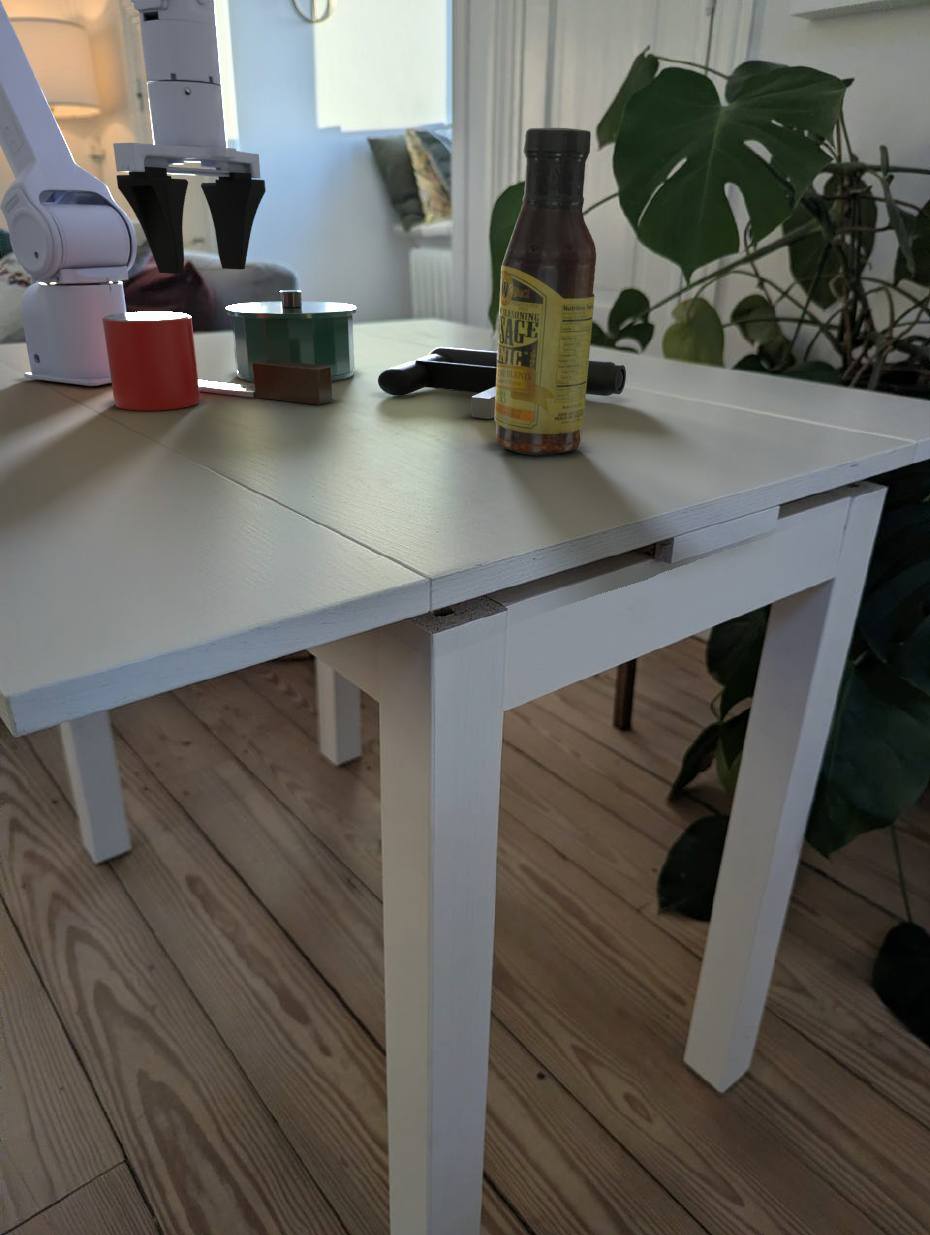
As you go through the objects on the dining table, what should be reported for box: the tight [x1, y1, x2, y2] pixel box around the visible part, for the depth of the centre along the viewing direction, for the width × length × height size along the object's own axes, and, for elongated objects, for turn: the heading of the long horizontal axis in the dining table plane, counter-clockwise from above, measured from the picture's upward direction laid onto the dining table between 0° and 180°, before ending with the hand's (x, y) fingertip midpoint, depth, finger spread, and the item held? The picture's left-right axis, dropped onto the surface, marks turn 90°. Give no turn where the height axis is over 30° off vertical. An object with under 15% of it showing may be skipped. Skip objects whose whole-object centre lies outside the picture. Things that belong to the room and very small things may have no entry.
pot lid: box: [225, 289, 357, 319], centre depth 89 cm, size 13×13×3 cm
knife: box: [198, 360, 334, 406], centre depth 81 cm, size 16×2×3 cm, turn 63°
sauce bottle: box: [494, 127, 597, 456], centre depth 60 cm, size 6×6×20 cm
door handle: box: [377, 346, 627, 420], centre depth 80 cm, size 3×20×16 cm
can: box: [102, 311, 201, 412], centre depth 76 cm, size 7×7×7 cm
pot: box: [230, 314, 355, 383], centre depth 91 cm, size 12×12×6 cm
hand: (203, 271), depth 77 cm, fingers open, 7 cm apart
